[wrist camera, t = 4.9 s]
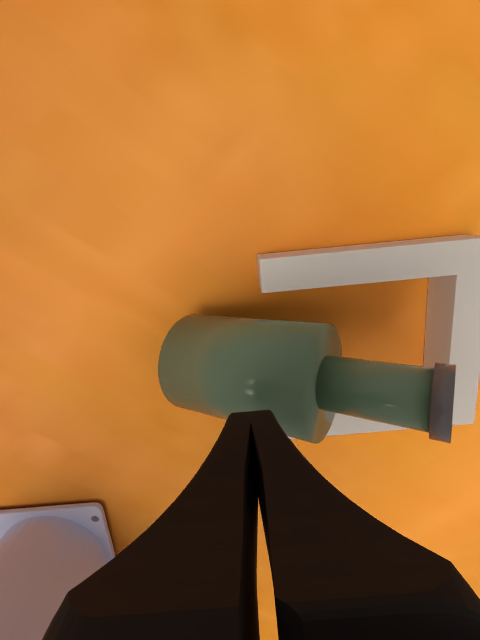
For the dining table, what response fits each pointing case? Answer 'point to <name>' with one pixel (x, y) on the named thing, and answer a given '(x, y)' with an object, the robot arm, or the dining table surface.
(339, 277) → the rest
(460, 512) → the dining table surface
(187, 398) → the bottle
